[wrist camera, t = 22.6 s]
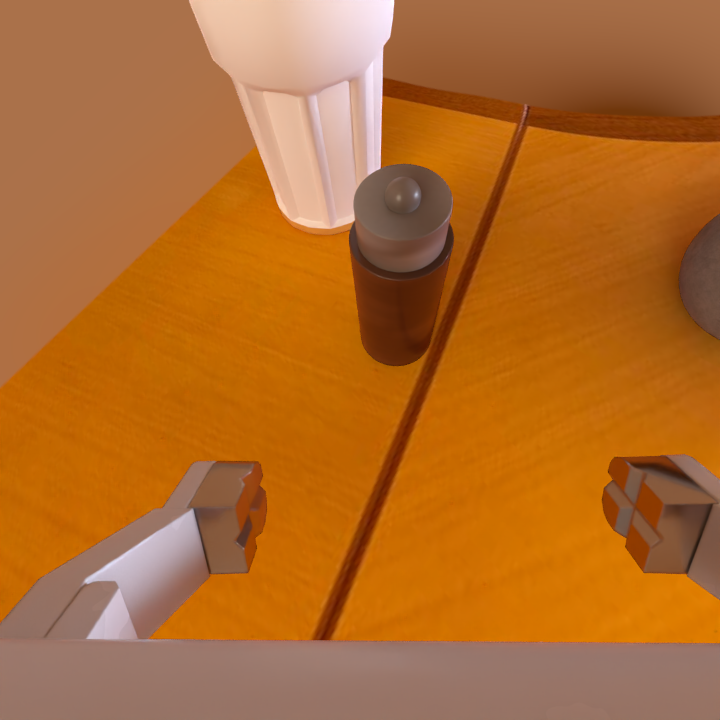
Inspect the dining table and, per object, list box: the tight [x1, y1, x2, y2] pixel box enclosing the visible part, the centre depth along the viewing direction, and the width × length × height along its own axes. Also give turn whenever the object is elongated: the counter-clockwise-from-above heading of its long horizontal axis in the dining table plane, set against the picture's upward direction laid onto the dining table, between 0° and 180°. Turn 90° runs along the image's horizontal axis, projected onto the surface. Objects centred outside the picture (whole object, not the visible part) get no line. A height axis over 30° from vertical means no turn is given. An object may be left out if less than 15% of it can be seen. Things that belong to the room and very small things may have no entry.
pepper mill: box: [349, 164, 454, 366], centre depth 24 cm, size 5×5×14 cm
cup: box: [189, 0, 394, 235], centre depth 28 cm, size 11×11×17 cm
